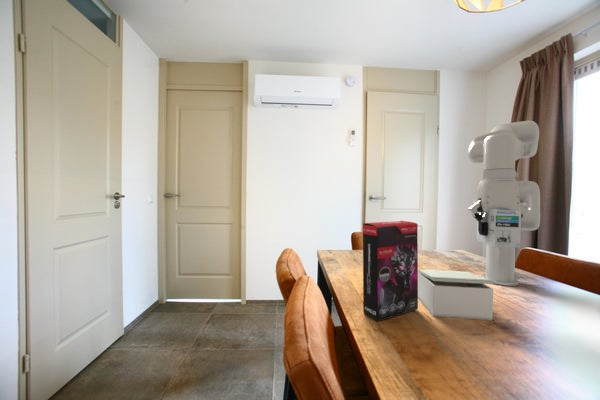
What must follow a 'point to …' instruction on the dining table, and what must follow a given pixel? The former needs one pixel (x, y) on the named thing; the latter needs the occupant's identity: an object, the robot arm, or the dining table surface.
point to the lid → (454, 276)
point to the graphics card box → (390, 268)
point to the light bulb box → (502, 228)
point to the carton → (456, 299)
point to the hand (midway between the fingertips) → (496, 235)
